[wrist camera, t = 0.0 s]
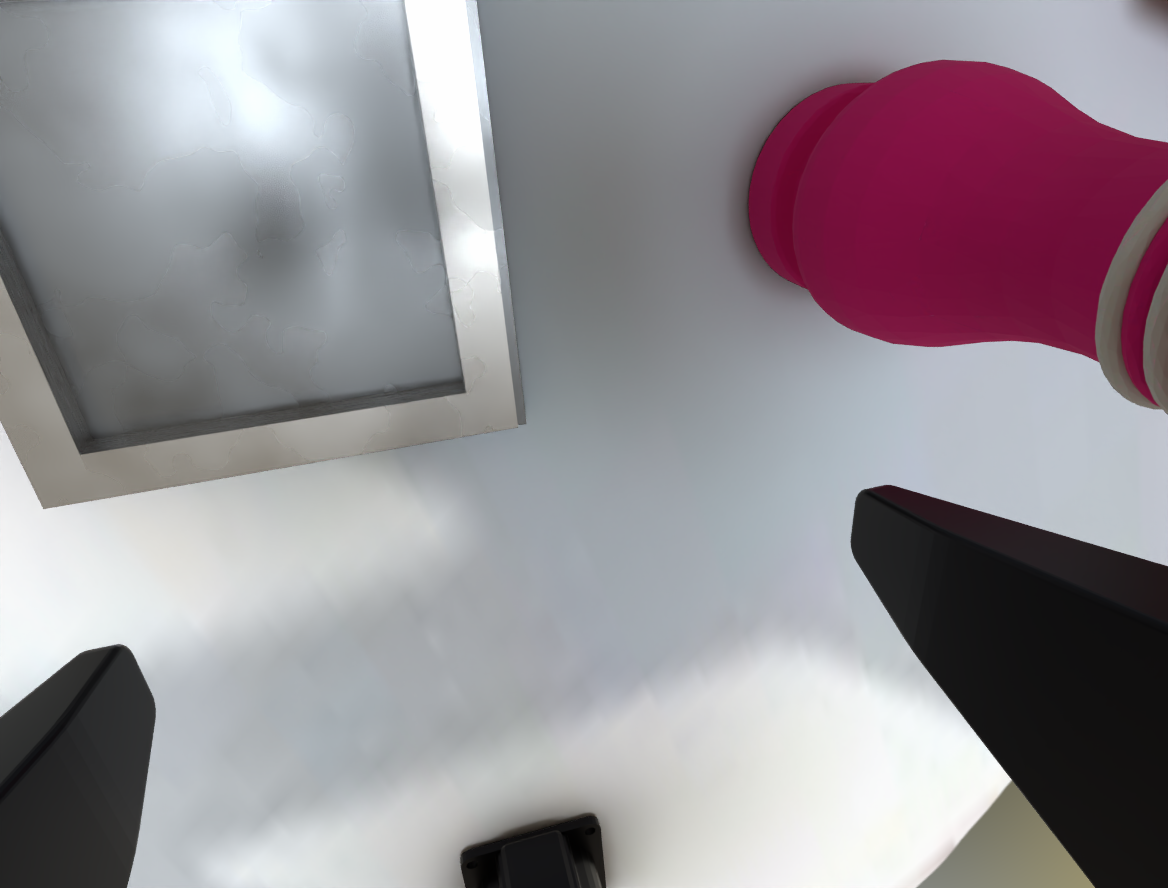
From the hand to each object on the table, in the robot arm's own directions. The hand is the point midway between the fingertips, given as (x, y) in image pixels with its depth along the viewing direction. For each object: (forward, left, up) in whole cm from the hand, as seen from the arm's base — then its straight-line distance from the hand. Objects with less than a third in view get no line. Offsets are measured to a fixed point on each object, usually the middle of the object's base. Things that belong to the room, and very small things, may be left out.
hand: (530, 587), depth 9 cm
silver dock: (+3, +5, -15) cm, 16 cm away
